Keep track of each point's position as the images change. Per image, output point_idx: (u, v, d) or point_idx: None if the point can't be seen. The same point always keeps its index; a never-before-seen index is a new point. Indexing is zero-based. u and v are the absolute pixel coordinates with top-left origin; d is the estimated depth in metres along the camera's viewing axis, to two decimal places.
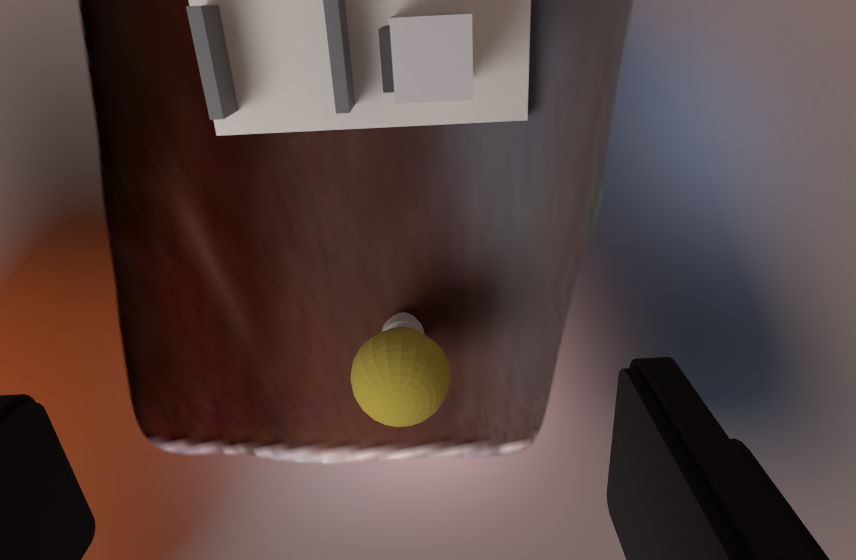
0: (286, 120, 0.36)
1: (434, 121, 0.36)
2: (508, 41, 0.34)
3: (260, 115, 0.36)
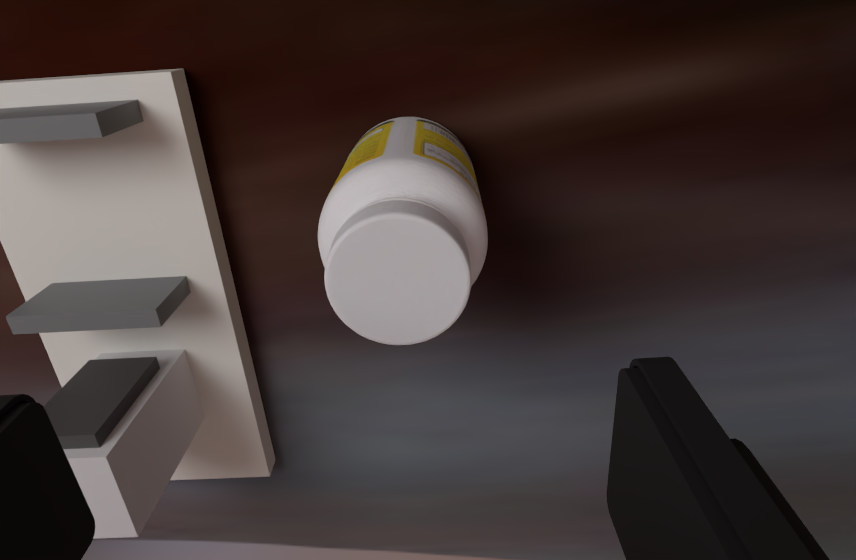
0: (2, 204, 0.23)
1: None
2: (183, 461, 0.29)
3: None
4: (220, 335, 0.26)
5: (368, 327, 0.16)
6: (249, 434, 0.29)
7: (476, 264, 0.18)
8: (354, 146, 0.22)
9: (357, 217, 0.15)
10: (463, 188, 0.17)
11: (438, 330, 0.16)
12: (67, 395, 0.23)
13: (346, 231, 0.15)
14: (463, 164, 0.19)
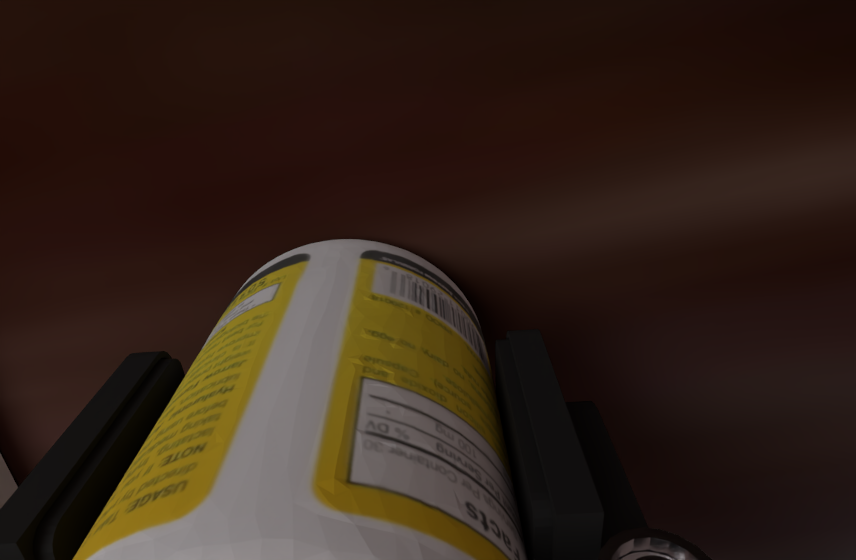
0: None
1: None
2: None
3: None
4: None
5: None
6: None
7: None
8: None
9: None
10: None
11: None
12: None
13: None
14: (470, 419, 0.07)
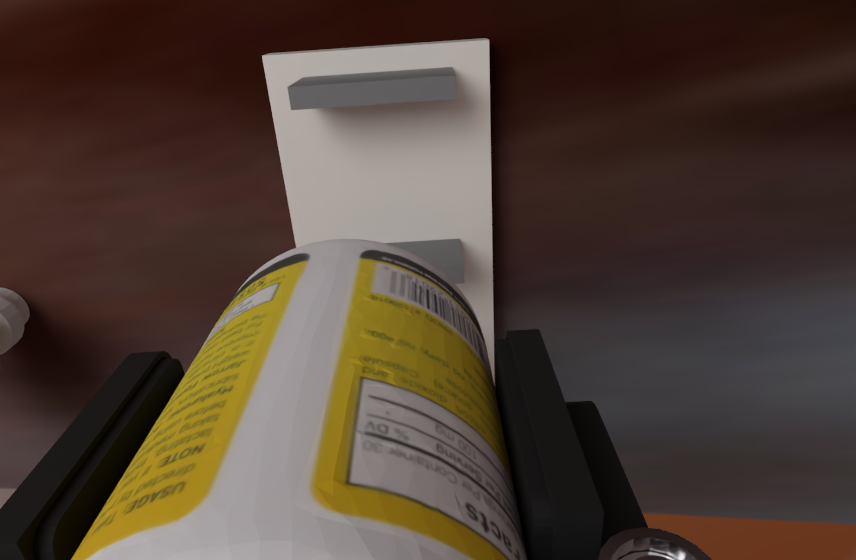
0: (299, 169, 0.25)
1: None
2: None
3: (302, 131, 0.24)
4: (479, 296, 0.27)
5: None
6: None
7: None
8: None
9: None
10: None
11: None
12: None
13: None
14: (470, 420, 0.07)
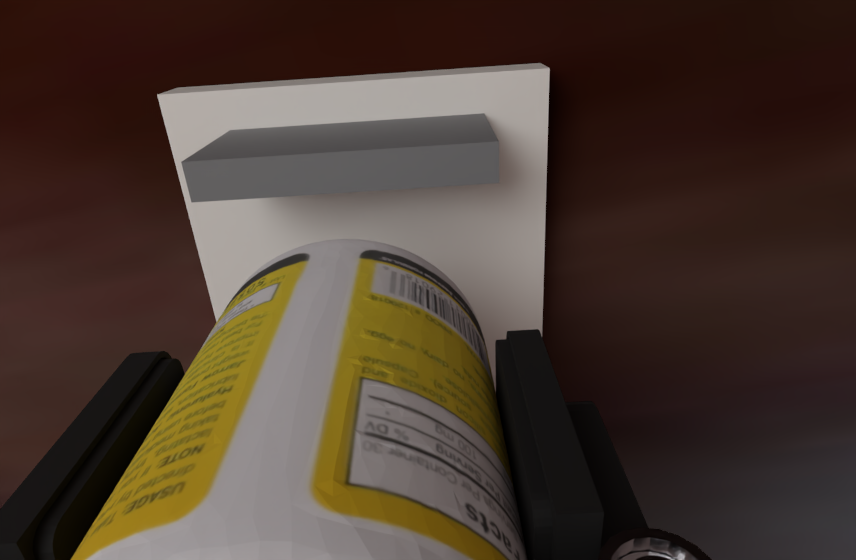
0: (231, 274, 0.15)
1: None
2: None
3: (233, 217, 0.14)
4: None
5: None
6: None
7: None
8: None
9: None
10: None
11: None
12: None
13: None
14: (470, 420, 0.07)
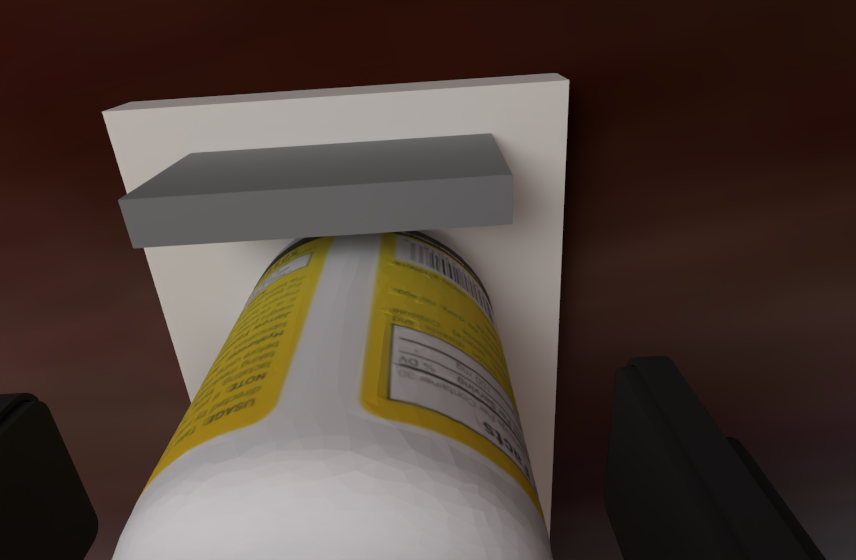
0: (197, 317, 0.13)
1: None
2: None
3: (196, 253, 0.12)
4: None
5: None
6: None
7: None
8: (261, 276, 0.11)
9: None
10: (499, 516, 0.06)
11: None
12: None
13: None
14: (484, 364, 0.08)
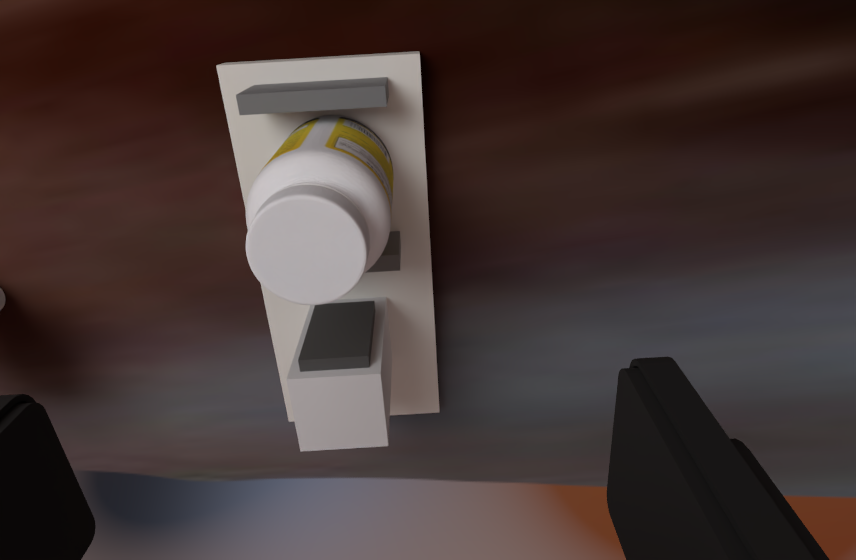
0: (252, 167, 0.27)
1: (275, 336, 0.31)
2: None
3: (254, 133, 0.26)
4: (420, 283, 0.30)
5: (284, 290, 0.19)
6: (428, 373, 0.33)
7: (379, 239, 0.21)
8: None
9: (272, 198, 0.18)
10: (365, 175, 0.20)
11: (343, 292, 0.19)
12: (319, 329, 0.27)
13: (262, 209, 0.18)
14: (373, 156, 0.23)
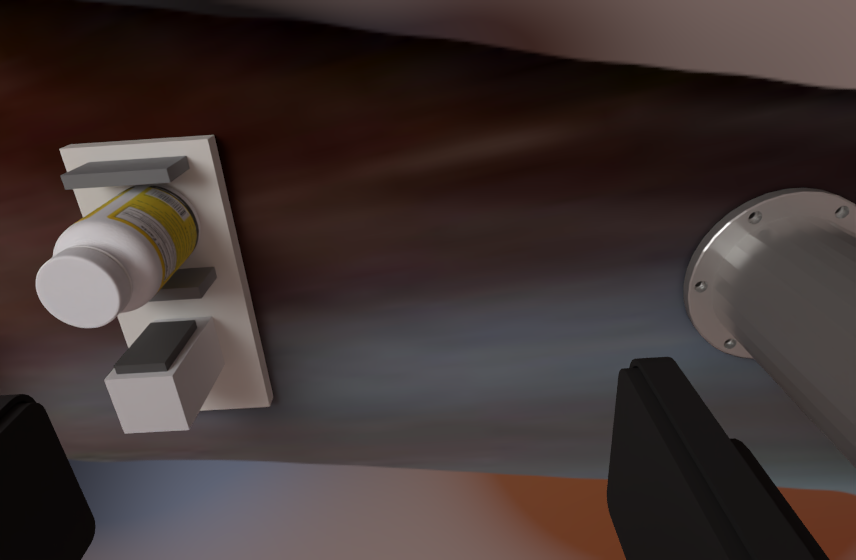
0: None
1: None
2: (209, 396, 0.42)
3: (93, 196, 0.35)
4: (236, 306, 0.39)
5: (67, 318, 0.28)
6: (255, 376, 0.42)
7: (148, 281, 0.30)
8: None
9: (52, 257, 0.27)
10: (132, 237, 0.29)
11: (108, 319, 0.28)
12: (141, 342, 0.35)
13: None
14: (157, 219, 0.32)
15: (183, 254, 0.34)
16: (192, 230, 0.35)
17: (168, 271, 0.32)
